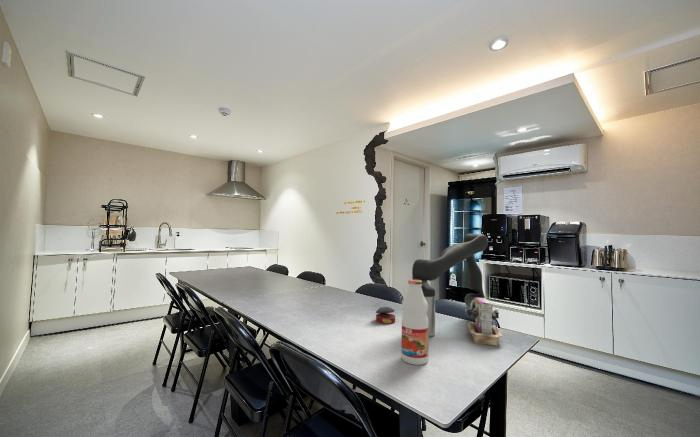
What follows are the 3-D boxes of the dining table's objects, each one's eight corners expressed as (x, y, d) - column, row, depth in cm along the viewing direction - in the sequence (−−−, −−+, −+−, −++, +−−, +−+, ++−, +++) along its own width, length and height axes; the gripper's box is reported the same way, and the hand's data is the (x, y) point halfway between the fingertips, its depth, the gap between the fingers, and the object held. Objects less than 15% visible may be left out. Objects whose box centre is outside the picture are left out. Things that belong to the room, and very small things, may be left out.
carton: (471, 343, 119) (471, 333, 119) (467, 330, 136) (466, 321, 136) (503, 347, 115) (503, 337, 116) (494, 333, 132) (494, 324, 133)
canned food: (376, 331, 145) (368, 313, 148) (385, 324, 153) (377, 307, 156) (394, 325, 139) (384, 306, 142) (402, 318, 148) (393, 300, 150)
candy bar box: (474, 333, 132) (474, 297, 133) (486, 334, 131) (486, 297, 132) (480, 342, 121) (480, 302, 122) (493, 343, 120) (493, 303, 121)
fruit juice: (433, 360, 102) (433, 280, 104) (418, 368, 96) (419, 283, 97) (411, 352, 109) (411, 277, 110) (395, 359, 102) (396, 279, 104)
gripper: (463, 298, 141) (466, 306, 125) (495, 301, 137) (503, 309, 121) (463, 314, 141) (466, 323, 125) (495, 317, 137) (503, 327, 121)
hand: (484, 316), depth 123 cm, fingers open, 6 cm apart
